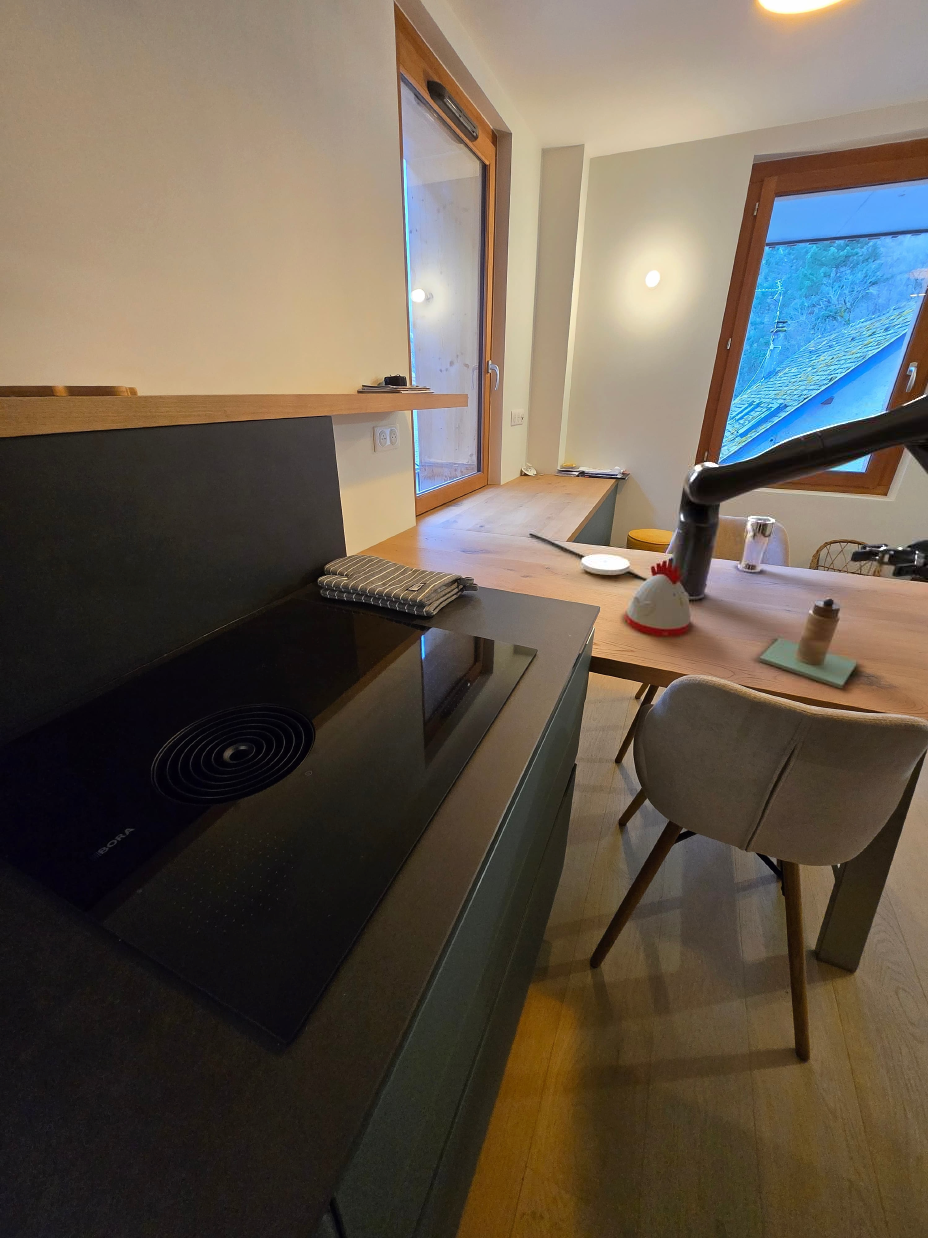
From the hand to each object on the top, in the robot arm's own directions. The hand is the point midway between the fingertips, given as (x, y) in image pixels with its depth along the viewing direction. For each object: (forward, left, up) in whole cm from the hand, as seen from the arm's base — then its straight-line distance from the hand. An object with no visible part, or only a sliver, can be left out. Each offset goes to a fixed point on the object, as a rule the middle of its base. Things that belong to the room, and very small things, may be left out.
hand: (873, 563), depth 95 cm
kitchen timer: (-33, -16, -19) cm, 41 cm away
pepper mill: (-3, -12, -18) cm, 22 cm away
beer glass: (-31, +37, -19) cm, 52 cm away
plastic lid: (-61, +6, -19) cm, 65 cm away
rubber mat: (-3, -12, -19) cm, 23 cm away
